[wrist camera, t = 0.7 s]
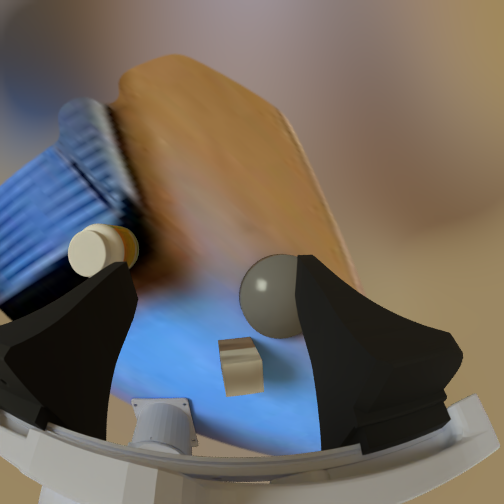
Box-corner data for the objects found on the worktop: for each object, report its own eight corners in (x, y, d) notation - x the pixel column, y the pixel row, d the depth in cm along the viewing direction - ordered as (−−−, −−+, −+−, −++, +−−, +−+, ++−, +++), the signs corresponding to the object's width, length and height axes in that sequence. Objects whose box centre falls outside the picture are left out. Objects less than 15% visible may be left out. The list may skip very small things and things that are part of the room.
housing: (252, 364, 33) (263, 391, 26) (221, 368, 32) (226, 396, 25) (250, 336, 33) (261, 359, 26) (218, 340, 32) (222, 364, 25)
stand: (317, 326, 34) (323, 331, 32) (242, 337, 32) (244, 343, 31) (315, 251, 34) (322, 251, 32) (236, 257, 32) (238, 258, 30)
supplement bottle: (133, 220, 30) (105, 213, 20) (145, 265, 30) (121, 275, 21) (94, 233, 29) (55, 232, 19) (105, 276, 29) (70, 291, 20)
